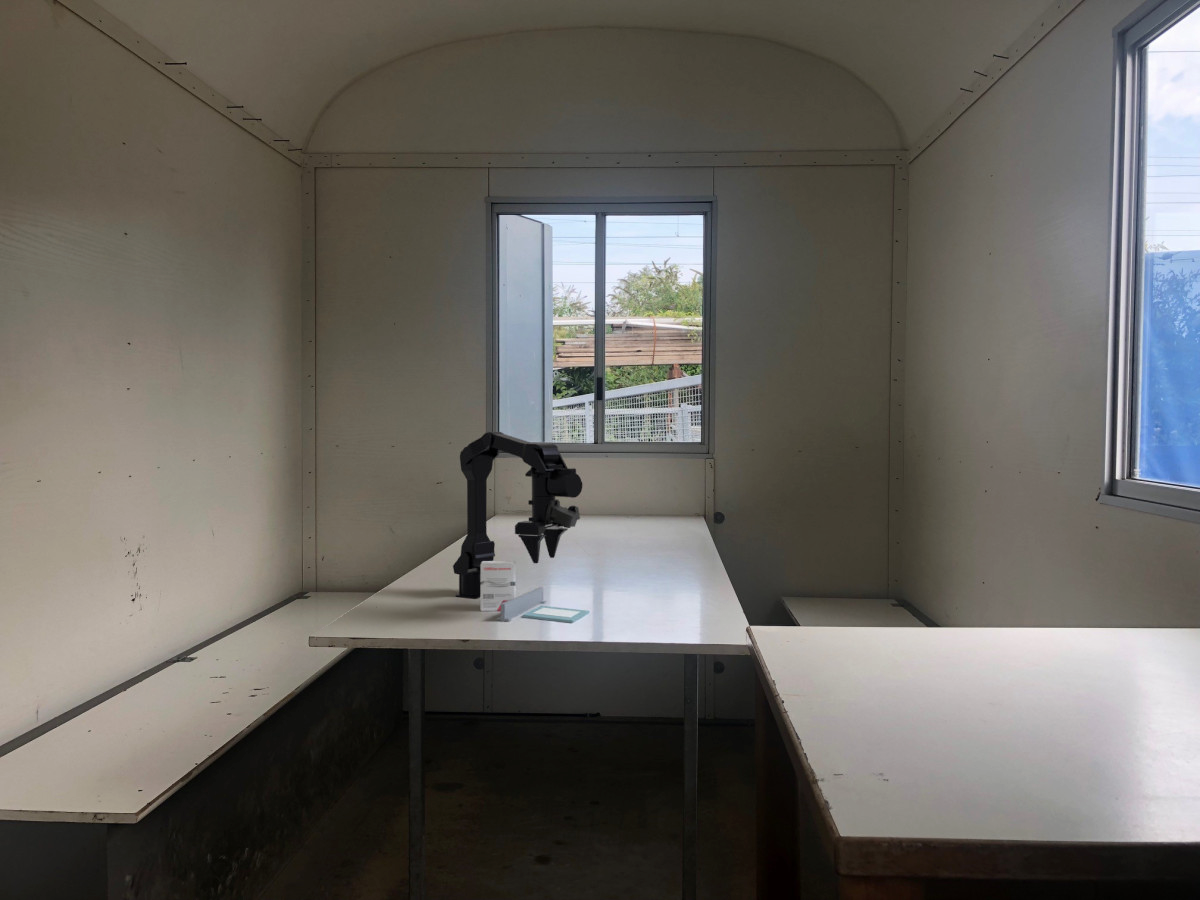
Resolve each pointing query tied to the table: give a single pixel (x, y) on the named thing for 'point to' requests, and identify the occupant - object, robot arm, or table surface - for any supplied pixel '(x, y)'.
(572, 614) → the teal picture frame
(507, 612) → the grey long bar
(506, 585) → the ink box
